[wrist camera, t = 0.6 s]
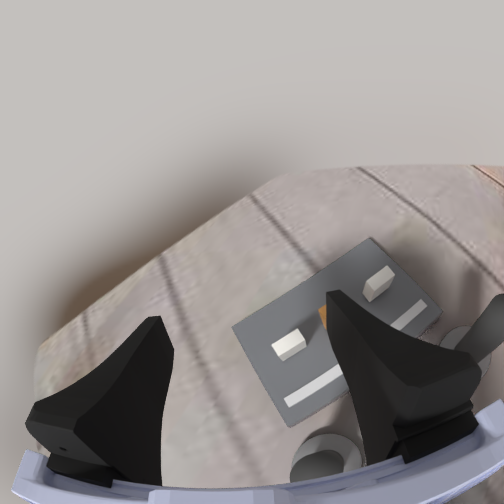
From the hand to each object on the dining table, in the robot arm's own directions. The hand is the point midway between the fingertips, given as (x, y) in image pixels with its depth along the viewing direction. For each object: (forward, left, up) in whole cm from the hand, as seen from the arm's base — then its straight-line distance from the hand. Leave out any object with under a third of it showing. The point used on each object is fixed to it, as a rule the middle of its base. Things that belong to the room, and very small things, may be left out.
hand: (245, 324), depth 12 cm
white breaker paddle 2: (+4, -11, -15) cm, 19 cm away
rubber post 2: (-7, -14, -17) cm, 23 cm away
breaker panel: (+4, -6, -17) cm, 18 cm away
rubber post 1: (-7, +2, -17) cm, 18 cm away
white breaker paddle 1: (+4, -1, -15) cm, 16 cm away
